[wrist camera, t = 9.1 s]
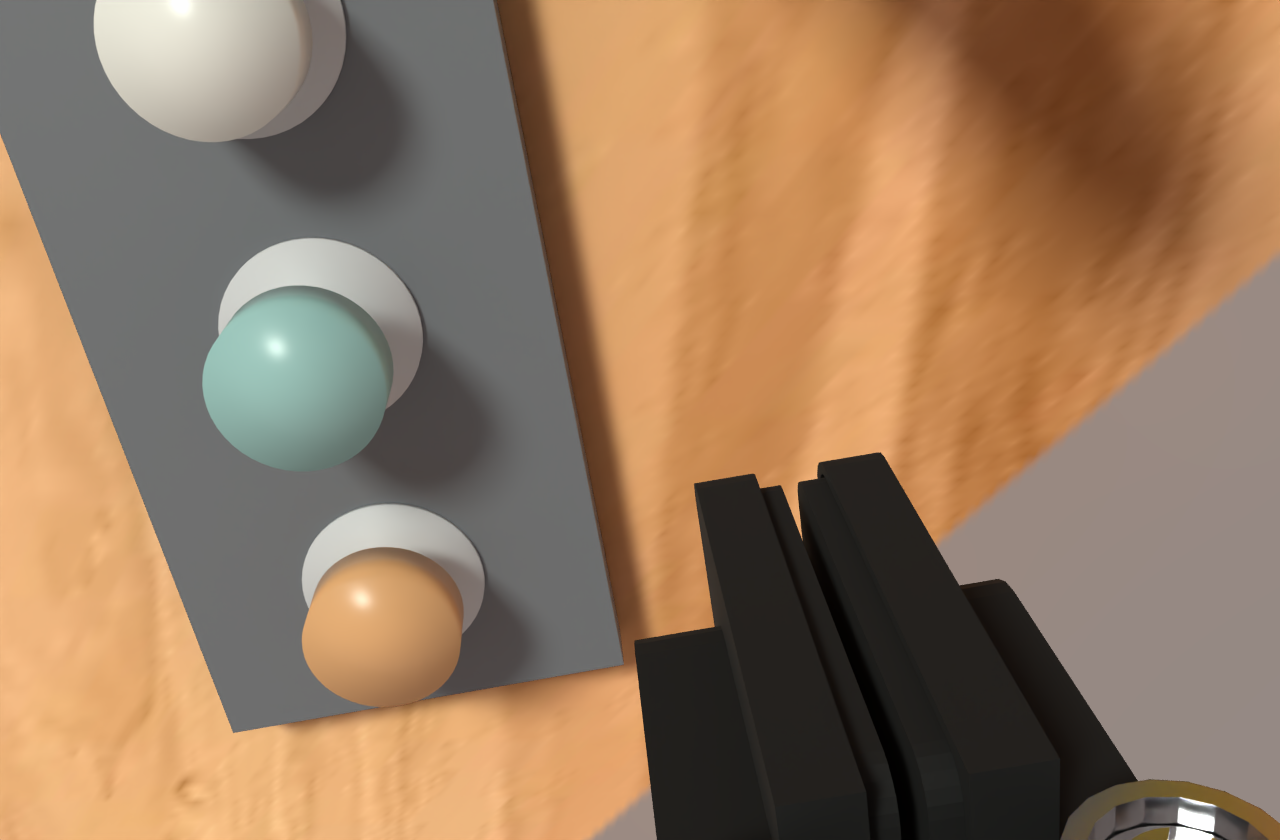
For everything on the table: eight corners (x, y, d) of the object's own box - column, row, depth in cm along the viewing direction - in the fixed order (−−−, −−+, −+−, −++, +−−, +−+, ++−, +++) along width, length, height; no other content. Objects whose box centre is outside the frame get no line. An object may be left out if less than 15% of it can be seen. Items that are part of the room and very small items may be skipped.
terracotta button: (447, 519, 37) (441, 566, 35) (479, 640, 39) (475, 692, 37) (299, 544, 37) (282, 593, 35) (339, 664, 39) (325, 718, 37)
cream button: (290, -85, 30) (267, -82, 27) (340, 105, 32) (322, 124, 29) (103, -54, 30) (63, -47, 27) (165, 134, 32) (133, 157, 29)
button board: (453, -223, 31) (447, -229, 29) (620, 631, 43) (624, 668, 41) (-67, -135, 31) (-108, -135, 29) (246, 696, 43) (232, 736, 41)
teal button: (374, 260, 33) (360, 292, 30) (414, 413, 35) (404, 455, 32) (205, 289, 33) (177, 324, 30) (256, 440, 35) (233, 484, 32)
